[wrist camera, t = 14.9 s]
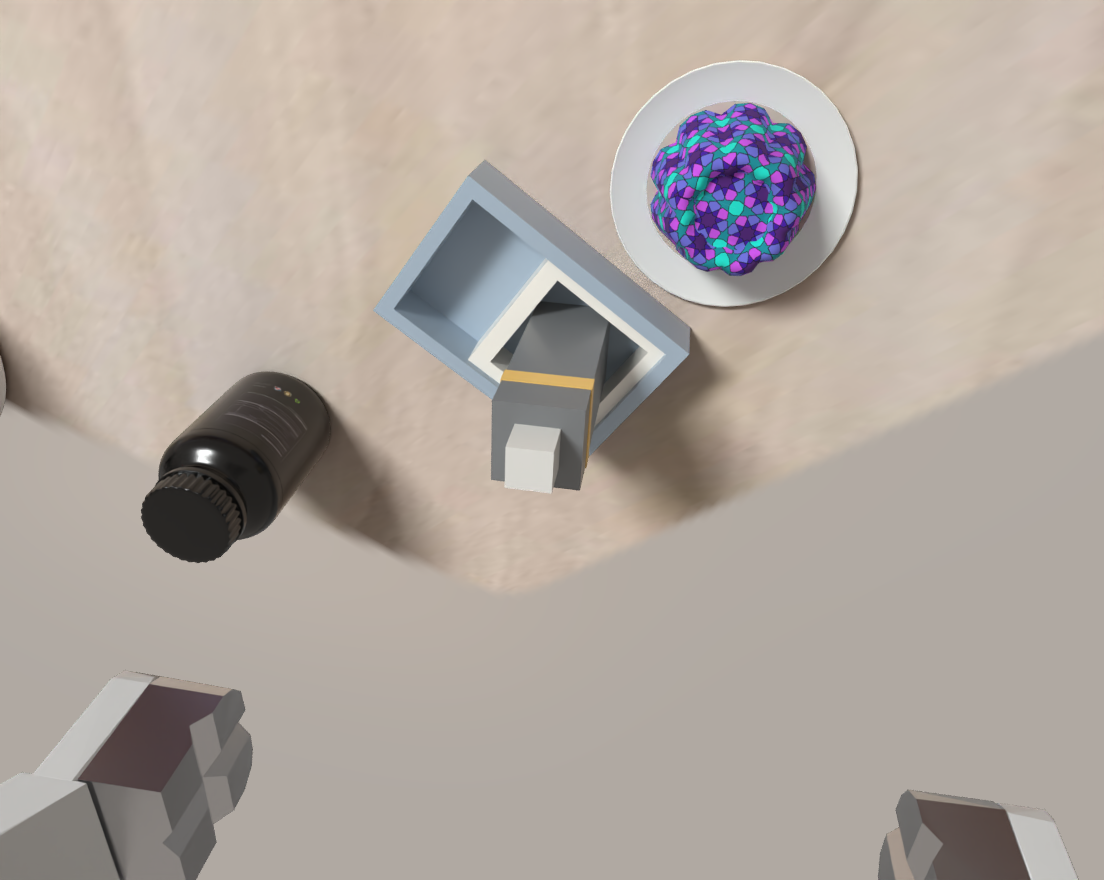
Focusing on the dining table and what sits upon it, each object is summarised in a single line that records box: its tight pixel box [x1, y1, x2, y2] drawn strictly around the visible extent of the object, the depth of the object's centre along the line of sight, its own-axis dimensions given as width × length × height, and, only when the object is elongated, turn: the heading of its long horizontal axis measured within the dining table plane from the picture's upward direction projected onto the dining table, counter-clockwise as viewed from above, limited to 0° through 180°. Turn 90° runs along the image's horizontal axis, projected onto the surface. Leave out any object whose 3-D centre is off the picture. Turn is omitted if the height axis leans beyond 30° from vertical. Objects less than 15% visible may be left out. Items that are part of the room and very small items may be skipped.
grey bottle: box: [491, 301, 610, 493], centre depth 41 cm, size 4×4×14 cm
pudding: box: [610, 60, 858, 307], centre depth 41 cm, size 12×12×5 cm
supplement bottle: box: [141, 372, 331, 563], centre depth 48 cm, size 7×7×12 cm
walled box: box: [373, 160, 690, 456], centre depth 46 cm, size 14×9×4 cm, turn 53°
